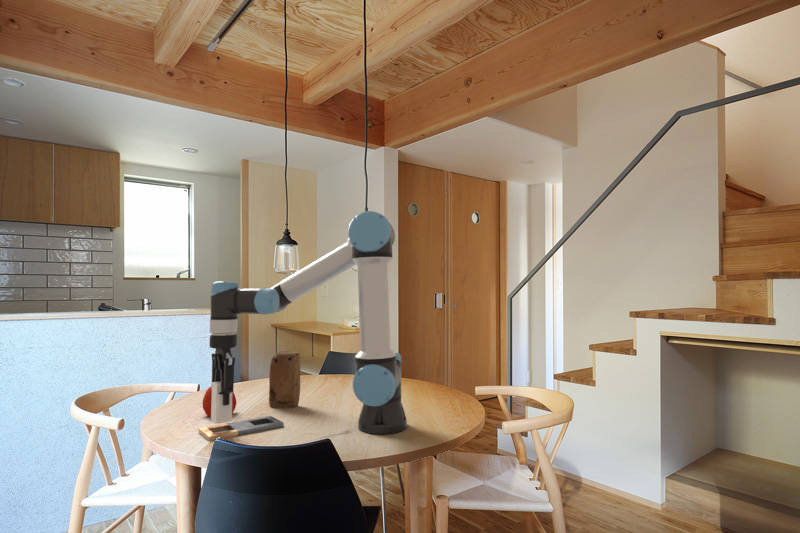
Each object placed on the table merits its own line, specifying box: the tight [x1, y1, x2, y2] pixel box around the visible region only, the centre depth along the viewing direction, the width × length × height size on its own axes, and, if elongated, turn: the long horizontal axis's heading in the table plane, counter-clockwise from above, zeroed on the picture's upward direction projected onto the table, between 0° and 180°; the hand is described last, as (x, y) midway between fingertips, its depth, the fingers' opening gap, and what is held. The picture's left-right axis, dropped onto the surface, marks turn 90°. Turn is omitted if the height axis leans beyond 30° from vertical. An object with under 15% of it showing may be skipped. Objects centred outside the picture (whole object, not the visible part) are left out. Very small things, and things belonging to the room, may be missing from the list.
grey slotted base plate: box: [198, 415, 285, 442], centre depth 140 cm, size 10×22×2 cm, turn 129°
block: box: [268, 350, 301, 409], centre depth 170 cm, size 11×8×20 cm
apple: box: [202, 385, 237, 418], centre depth 159 cm, size 11×11×11 cm
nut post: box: [210, 381, 233, 425], centre depth 136 cm, size 4×4×11 cm
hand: (221, 414), depth 136 cm, fingers closed on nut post, 4 cm apart
